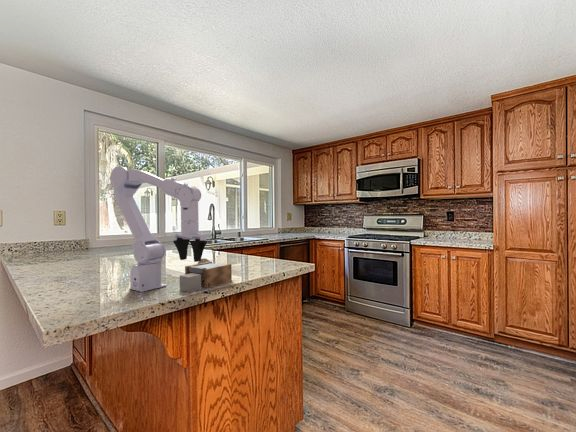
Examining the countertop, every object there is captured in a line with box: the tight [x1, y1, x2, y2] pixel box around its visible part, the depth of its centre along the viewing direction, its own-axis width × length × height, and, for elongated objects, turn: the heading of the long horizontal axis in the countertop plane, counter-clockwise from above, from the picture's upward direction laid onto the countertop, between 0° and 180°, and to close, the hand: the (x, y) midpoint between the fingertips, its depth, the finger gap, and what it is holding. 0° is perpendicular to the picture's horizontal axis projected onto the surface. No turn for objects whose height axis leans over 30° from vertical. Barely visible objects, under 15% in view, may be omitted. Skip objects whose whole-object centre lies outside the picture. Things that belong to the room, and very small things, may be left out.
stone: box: [179, 273, 202, 293], centre depth 99 cm, size 5×5×5 cm
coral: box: [196, 257, 211, 264], centre depth 124 cm, size 14×6×6 cm, turn 19°
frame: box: [184, 261, 233, 288], centre depth 109 cm, size 12×12×6 cm
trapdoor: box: [189, 262, 223, 274], centre depth 109 cm, size 11×9×2 cm
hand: (190, 260), depth 99 cm, fingers open, 7 cm apart
